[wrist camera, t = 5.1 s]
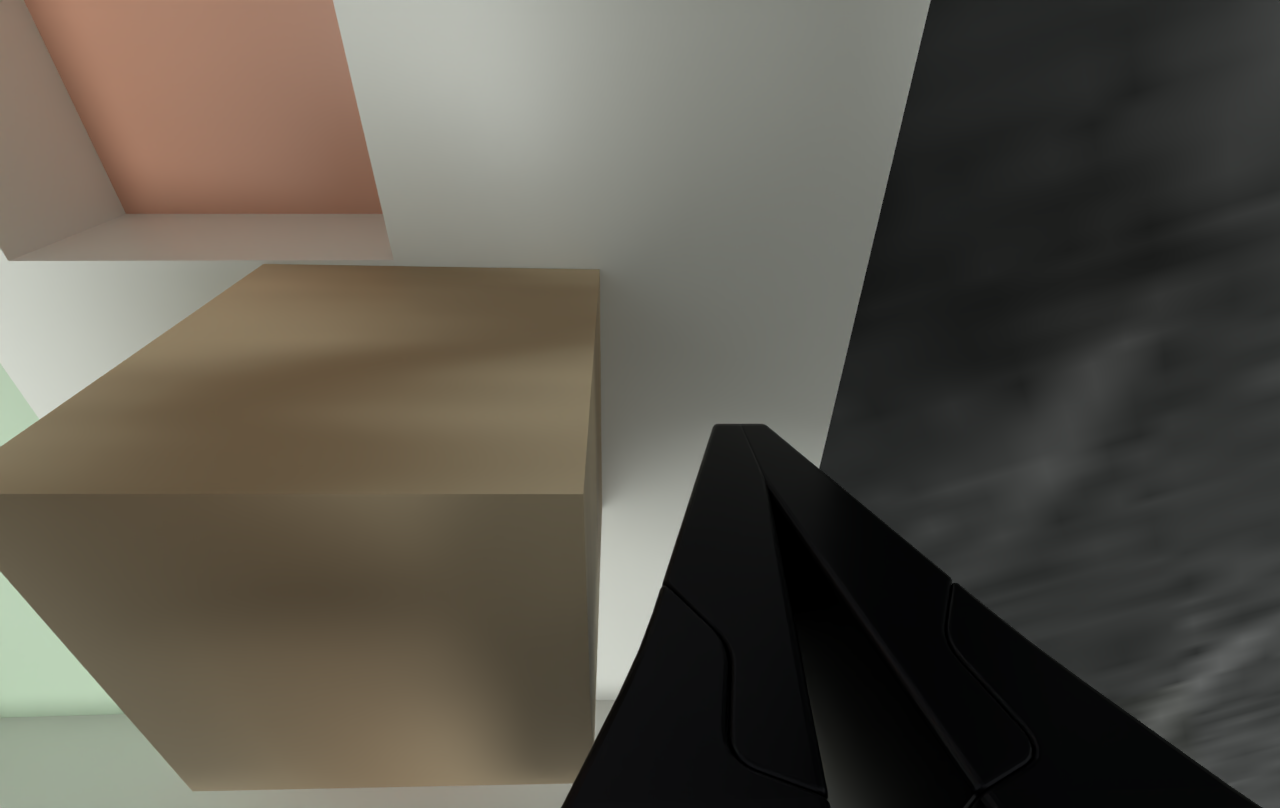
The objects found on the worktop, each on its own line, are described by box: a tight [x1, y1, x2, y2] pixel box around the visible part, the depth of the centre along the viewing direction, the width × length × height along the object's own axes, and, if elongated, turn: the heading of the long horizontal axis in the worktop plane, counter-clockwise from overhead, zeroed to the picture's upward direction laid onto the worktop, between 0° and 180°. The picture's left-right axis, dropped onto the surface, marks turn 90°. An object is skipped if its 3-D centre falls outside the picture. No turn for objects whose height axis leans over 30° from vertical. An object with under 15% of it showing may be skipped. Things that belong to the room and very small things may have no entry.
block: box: [0, 264, 602, 791], centre depth 7 cm, size 4×4×4 cm
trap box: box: [0, 0, 931, 808], centre depth 9 cm, size 20×19×6 cm
